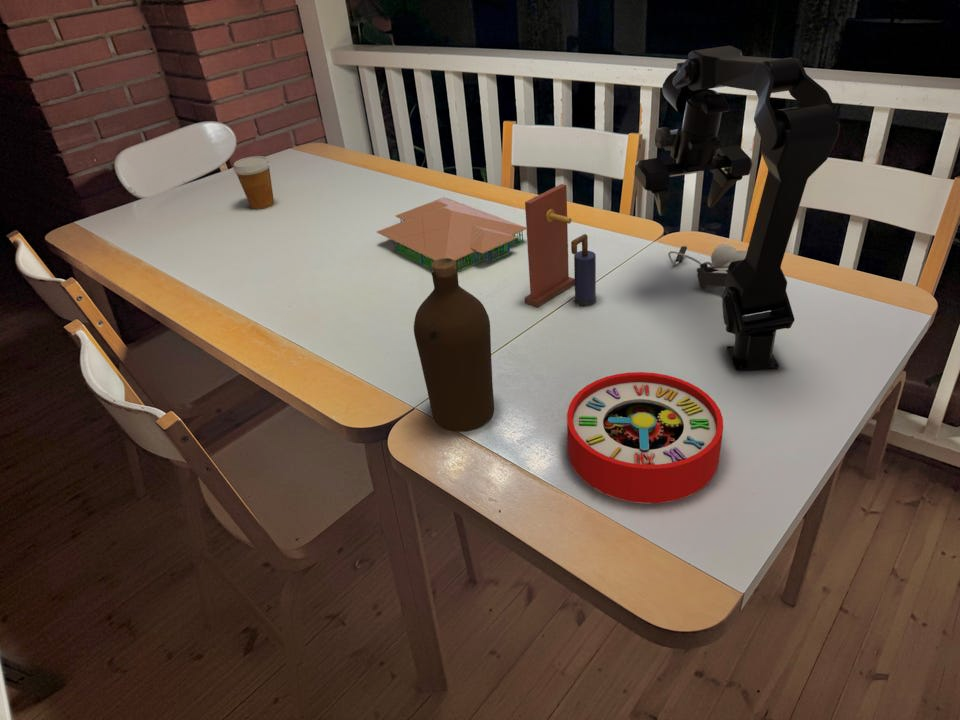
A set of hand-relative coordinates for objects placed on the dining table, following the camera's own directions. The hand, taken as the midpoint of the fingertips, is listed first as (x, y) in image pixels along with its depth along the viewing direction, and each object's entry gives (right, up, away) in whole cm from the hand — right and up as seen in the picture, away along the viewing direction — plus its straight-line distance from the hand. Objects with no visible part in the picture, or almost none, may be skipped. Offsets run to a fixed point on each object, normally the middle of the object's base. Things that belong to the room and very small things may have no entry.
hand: (685, 210), depth 123 cm
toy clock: (-15, -39, -29) cm, 51 cm away
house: (-43, 0, +33) cm, 55 cm away
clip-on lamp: (+7, -10, +10) cm, 16 cm away
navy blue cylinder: (-17, -16, +6) cm, 24 cm away
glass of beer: (-96, +15, +65) cm, 117 cm away
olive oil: (-39, -35, -19) cm, 55 cm away
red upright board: (-22, -15, +8) cm, 27 cm away
